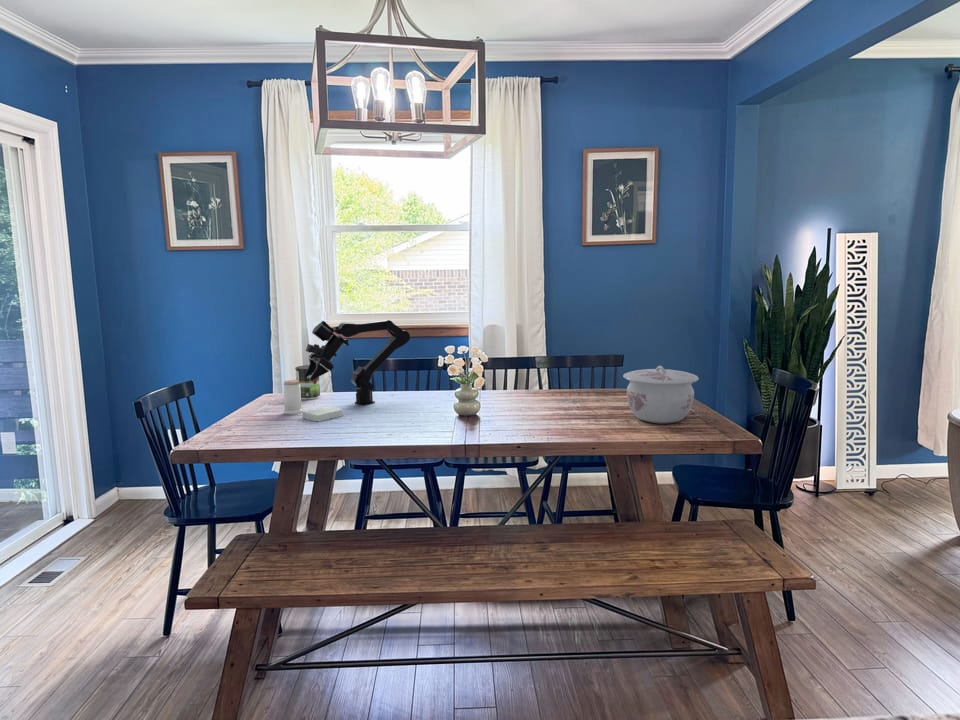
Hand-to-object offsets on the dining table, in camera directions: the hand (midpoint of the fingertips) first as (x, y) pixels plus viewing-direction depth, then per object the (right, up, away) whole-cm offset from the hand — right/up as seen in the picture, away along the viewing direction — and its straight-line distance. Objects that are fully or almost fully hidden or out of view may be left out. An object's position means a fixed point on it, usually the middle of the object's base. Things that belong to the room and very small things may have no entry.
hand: (308, 378), depth 262 cm
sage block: (+9, -15, -10) cm, 20 cm away
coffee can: (-7, -10, +27) cm, 29 cm away
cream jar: (-6, -14, -2) cm, 15 cm away
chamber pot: (+139, -15, -21) cm, 142 cm away
